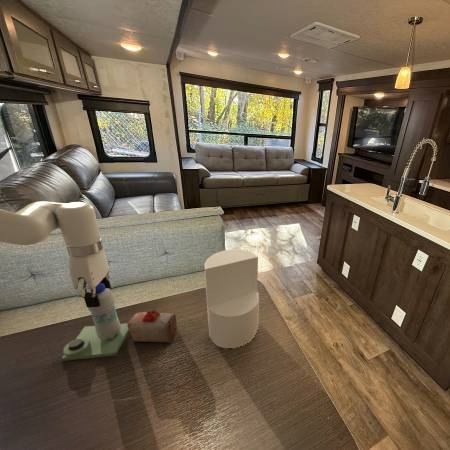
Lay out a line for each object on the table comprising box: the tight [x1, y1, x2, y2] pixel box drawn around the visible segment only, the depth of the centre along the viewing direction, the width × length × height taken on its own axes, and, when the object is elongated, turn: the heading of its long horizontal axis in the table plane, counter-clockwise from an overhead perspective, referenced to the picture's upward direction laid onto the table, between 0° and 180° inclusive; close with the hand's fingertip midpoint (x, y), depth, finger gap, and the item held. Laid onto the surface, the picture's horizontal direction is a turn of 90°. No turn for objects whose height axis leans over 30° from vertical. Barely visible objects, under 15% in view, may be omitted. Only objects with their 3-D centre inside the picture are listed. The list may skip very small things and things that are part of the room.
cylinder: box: [203, 249, 260, 349], centre depth 84 cm, size 17×17×28 cm
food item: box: [126, 307, 178, 344], centre depth 82 cm, size 14×8×10 cm, turn 92°
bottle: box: [87, 283, 121, 341], centre depth 77 cm, size 7×7×20 cm
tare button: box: [69, 338, 83, 351], centre depth 74 cm, size 3×3×2 cm
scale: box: [61, 322, 130, 362], centre depth 79 cm, size 14×12×3 cm
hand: (99, 298), depth 75 cm, fingers closed on bottle, 6 cm apart
